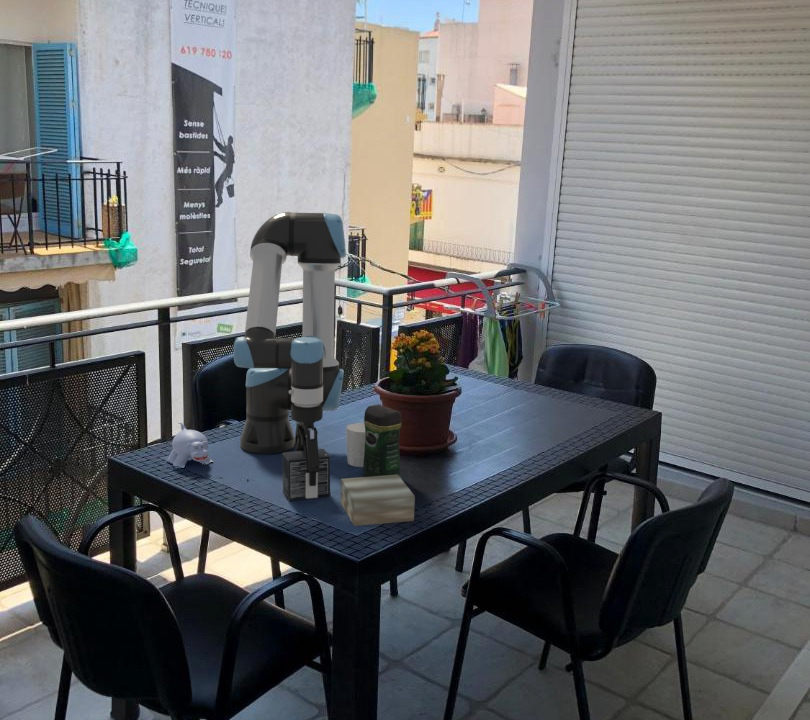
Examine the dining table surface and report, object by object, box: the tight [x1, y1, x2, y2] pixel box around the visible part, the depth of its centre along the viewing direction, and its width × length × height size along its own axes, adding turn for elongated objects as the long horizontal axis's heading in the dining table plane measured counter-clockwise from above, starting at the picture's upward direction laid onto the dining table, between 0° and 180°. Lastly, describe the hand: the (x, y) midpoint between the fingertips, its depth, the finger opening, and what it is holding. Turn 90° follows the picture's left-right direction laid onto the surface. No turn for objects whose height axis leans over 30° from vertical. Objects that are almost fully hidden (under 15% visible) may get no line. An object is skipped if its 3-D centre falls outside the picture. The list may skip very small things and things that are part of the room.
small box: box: [282, 448, 331, 502], centre depth 225 cm, size 11×6×10 cm, turn 111°
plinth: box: [340, 475, 416, 527], centre depth 216 cm, size 14×14×6 cm
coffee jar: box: [362, 404, 402, 477], centre depth 237 cm, size 10×8×19 cm
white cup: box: [345, 422, 365, 468], centre depth 247 cm, size 8×8×10 cm
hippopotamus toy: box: [167, 422, 214, 466], centre depth 243 cm, size 11×15×10 cm
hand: (306, 487), depth 225 cm, fingers open, 13 cm apart
